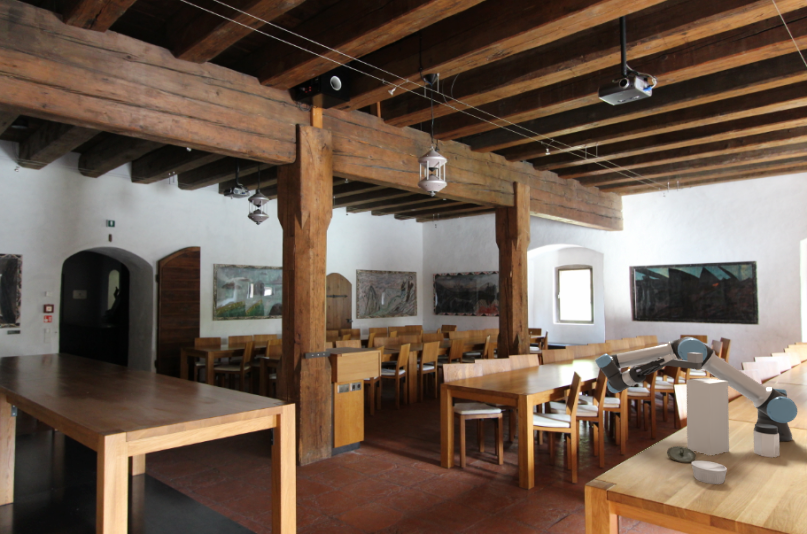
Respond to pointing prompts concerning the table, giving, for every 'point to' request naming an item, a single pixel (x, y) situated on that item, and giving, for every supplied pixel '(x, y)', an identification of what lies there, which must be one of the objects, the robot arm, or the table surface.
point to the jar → (766, 440)
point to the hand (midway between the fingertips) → (673, 356)
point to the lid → (681, 454)
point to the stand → (707, 416)
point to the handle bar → (688, 361)
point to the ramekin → (709, 472)
